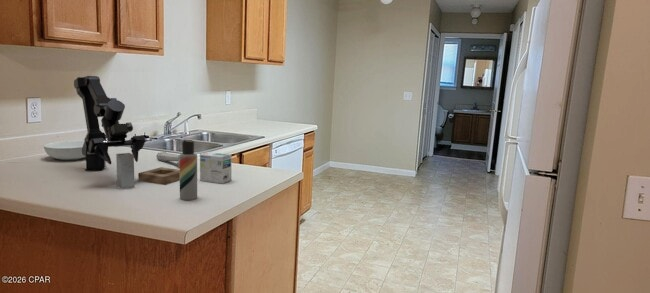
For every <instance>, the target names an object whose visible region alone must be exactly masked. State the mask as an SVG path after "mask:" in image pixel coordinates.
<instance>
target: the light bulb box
mask: <svg viewBox="0 0 650 293" xmlns="http://www.w3.org/2000/svg"><path fill="white" fill-rule="evenodd" d="M199 181H200V182H201V181H202V182H209V183H216V184H223V185H224V183H227V182H231V181H232V154H230V153H229V154H228V153H221V152H211V151H208V152H204V153H200V154H199Z"/></svg>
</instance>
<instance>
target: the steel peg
mask: <svg viewBox="0 0 650 293" xmlns="http://www.w3.org/2000/svg"><path fill="white" fill-rule="evenodd" d="M115 158H116V160H115V162H116V184H117V186H116V187H118V188H119V189H121V190H123V189H130V188H132V189H133V188H135V159H134V155H133V154H132V152H123V153H116V154H115Z"/></svg>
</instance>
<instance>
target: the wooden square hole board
mask: <svg viewBox="0 0 650 293" xmlns="http://www.w3.org/2000/svg"><path fill="white" fill-rule="evenodd" d="M137 174H138V175H137V176H138V182H145V183H151V184H152V183H153V184H158V185H164V186H165V185H168V184H172V183H175V182H178V181H179V182H180V169H175V168H170V167H161V166H160V167H156V168H154V169H153V168H152V169H148V170H145V171H140V172H138V173H137Z"/></svg>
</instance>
